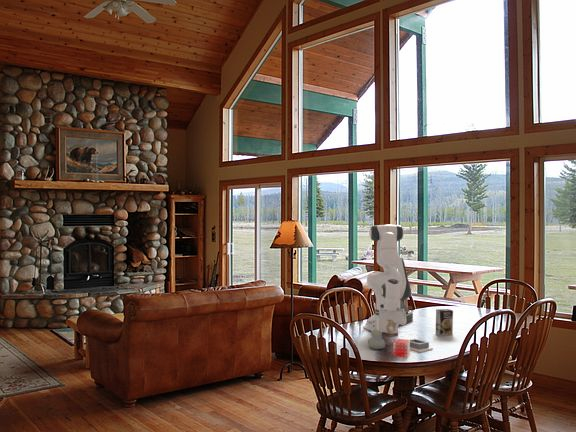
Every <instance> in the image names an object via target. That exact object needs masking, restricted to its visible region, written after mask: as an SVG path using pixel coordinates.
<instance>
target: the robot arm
mask: <svg viewBox="0 0 576 432" xmlns="http://www.w3.org/2000/svg"><path fill="white" fill-rule="evenodd" d="M368 233H369V237H370V240H371V241H374V242H376V263H377V265H379V266H380V267H382V268H383V271H380V272H377V271H376V272H373V273H369V274H368V276H367V277H366V284H367V286H368V288H370V289H371V290H372V291H373V293H374V295H375V300H376V301H375V302H376V303H375V304H376V308H375V309H373V312H374V314H372V315H371V316H370V317H369V318H368V319H367V321H366V325H363V329H366V330H369V331H371V332H372V331H374V330H378V331H381V332H382V333H386V321H387V319H389V320H392V321H393V323H395V327H394V330H397V327H398V328H399V327H400V326H399V324H400V325H403V326H404V325H407V324H408V323H407V320H406V312H405V311H404V309H400V299H401V300H408V299H409V298H410V297H411V296H412V289H411V288H412V287H411V284H410V283H409V276H408V273H407V268H406V265H405V261H404V258H402V257H401V256H400V255H399V251H398V242H399V241H401V240H402V239H403V237H404V233H405V232H404V228H403V226H402V225H400V224H379V225H376V224H374V225H372V226H371V227H370V229H369V232H368ZM406 323H407V324H406Z"/></svg>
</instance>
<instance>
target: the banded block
mask: <svg viewBox="0 0 576 432" xmlns="http://www.w3.org/2000/svg"><path fill="white" fill-rule="evenodd" d="M394 327H395V323H393V321H392V320H389V319H387V321H386V332H385V334H386V335H385V336H386V337H388V338H394V337H395V338H396V337H398V336H399V326H398V327H397V330H394Z"/></svg>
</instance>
